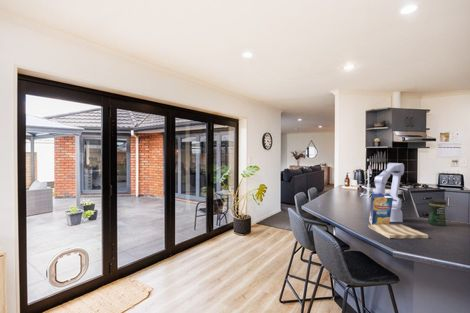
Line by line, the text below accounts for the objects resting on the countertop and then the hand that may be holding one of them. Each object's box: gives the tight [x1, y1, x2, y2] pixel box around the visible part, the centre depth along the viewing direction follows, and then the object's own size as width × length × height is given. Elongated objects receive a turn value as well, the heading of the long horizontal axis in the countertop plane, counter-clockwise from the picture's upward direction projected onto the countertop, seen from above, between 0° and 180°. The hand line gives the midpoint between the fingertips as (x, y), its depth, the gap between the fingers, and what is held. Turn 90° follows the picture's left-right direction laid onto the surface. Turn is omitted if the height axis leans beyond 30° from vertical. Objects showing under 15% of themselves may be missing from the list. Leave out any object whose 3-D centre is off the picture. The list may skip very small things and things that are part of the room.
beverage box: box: [368, 192, 393, 225], centre depth 169 cm, size 7×11×22 cm, turn 76°
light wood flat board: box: [367, 223, 429, 239], centre depth 155 cm, size 24×22×2 cm
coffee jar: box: [427, 198, 447, 227], centre depth 174 cm, size 10×8×19 cm
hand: (379, 211), depth 172 cm, fingers closed
